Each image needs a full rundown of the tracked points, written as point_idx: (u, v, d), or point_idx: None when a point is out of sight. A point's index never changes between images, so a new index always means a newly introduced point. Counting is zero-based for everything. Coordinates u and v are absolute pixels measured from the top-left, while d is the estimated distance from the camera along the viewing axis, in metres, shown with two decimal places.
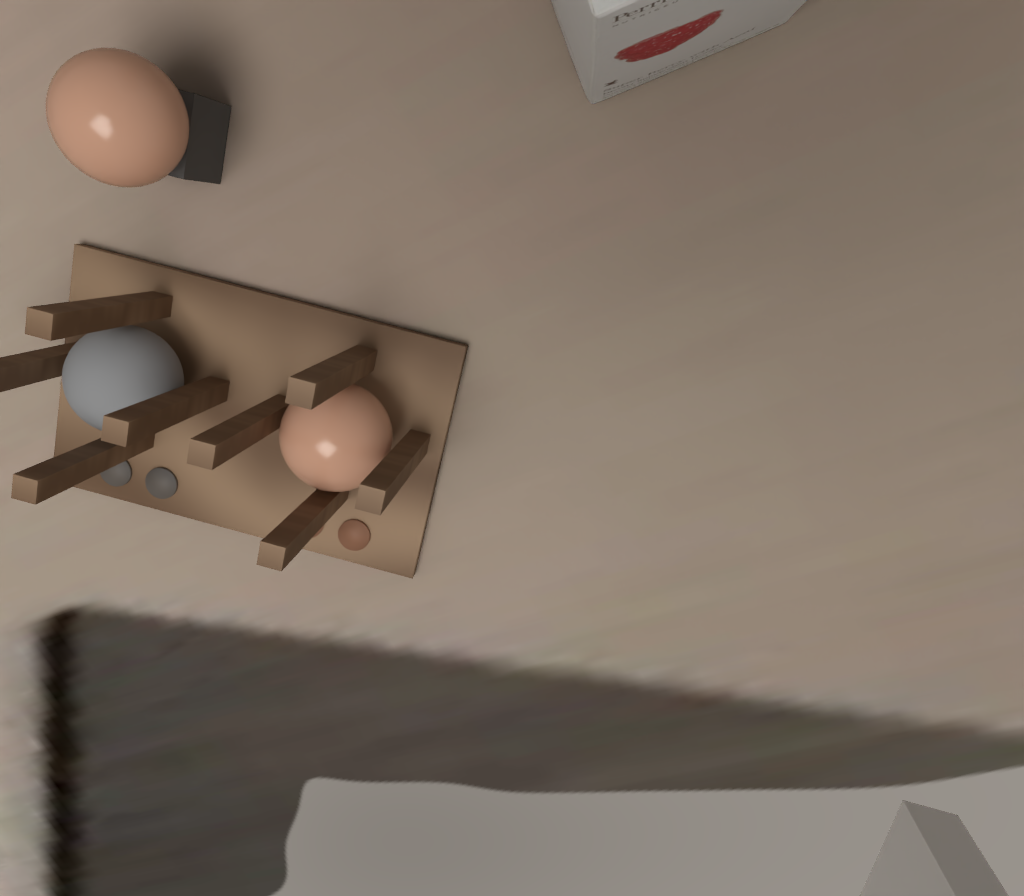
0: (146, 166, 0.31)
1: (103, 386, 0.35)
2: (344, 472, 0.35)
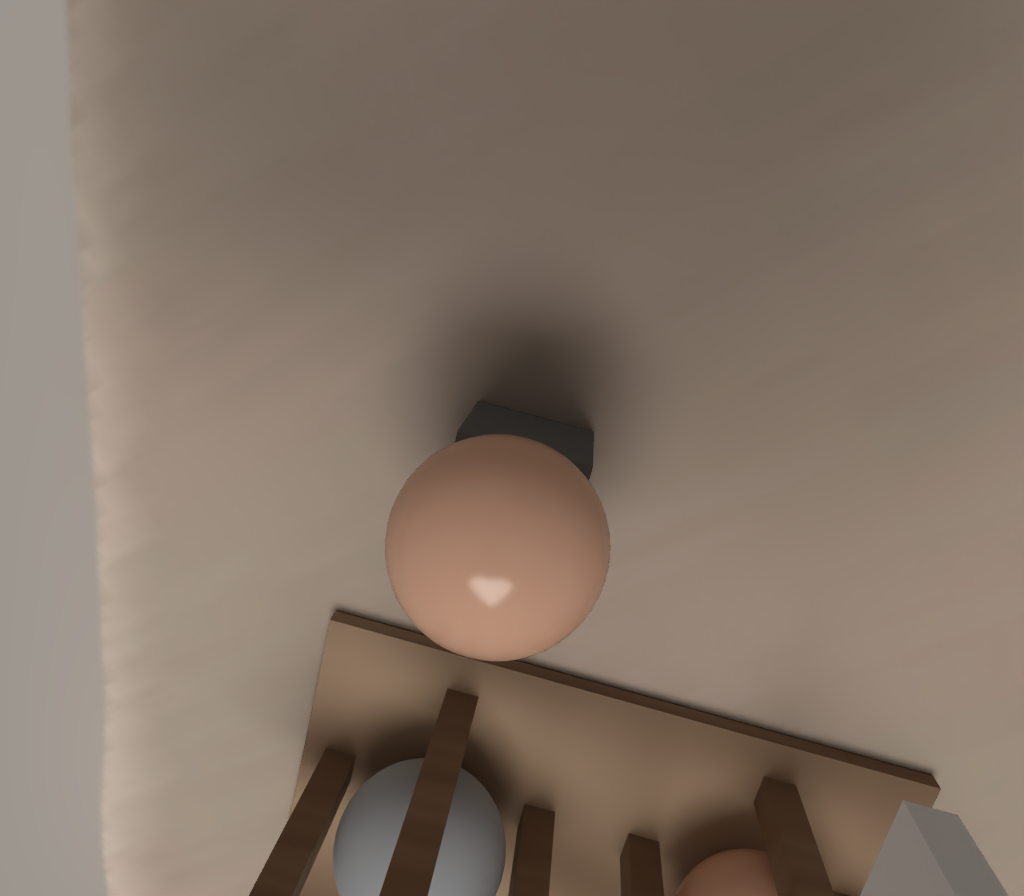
0: (557, 643, 0.18)
1: None
2: None
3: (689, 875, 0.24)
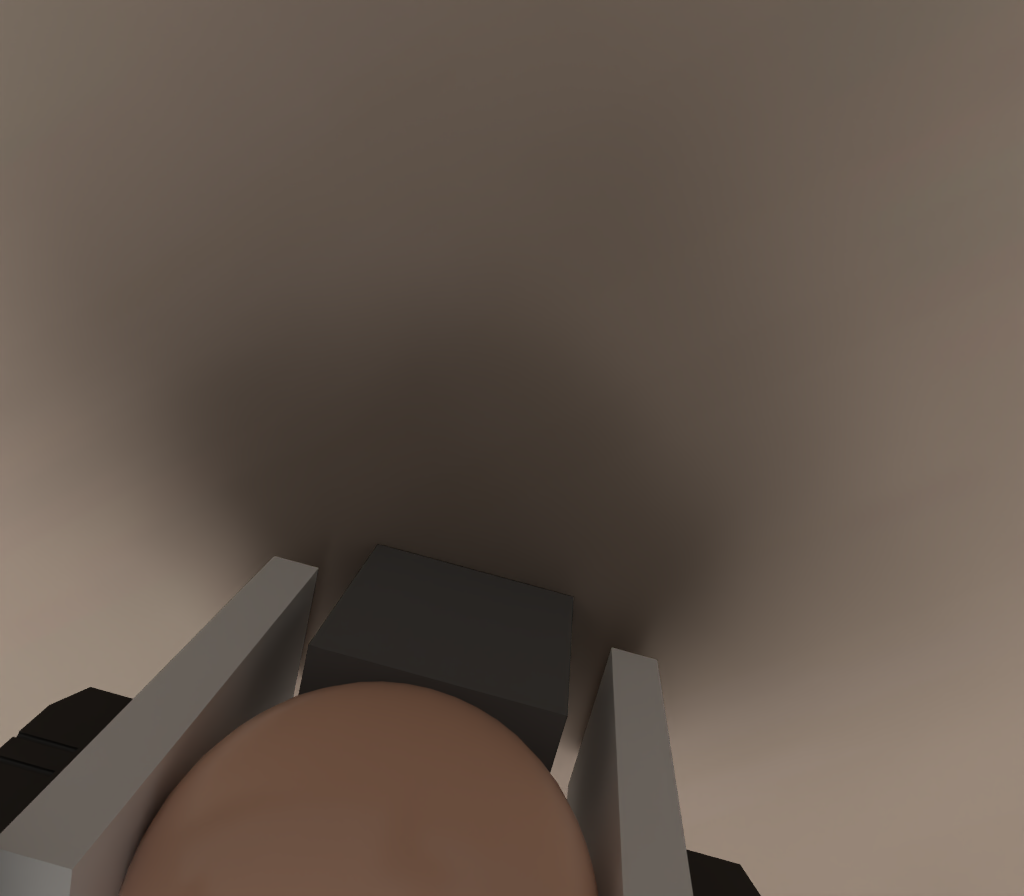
0: None
1: None
2: None
3: None
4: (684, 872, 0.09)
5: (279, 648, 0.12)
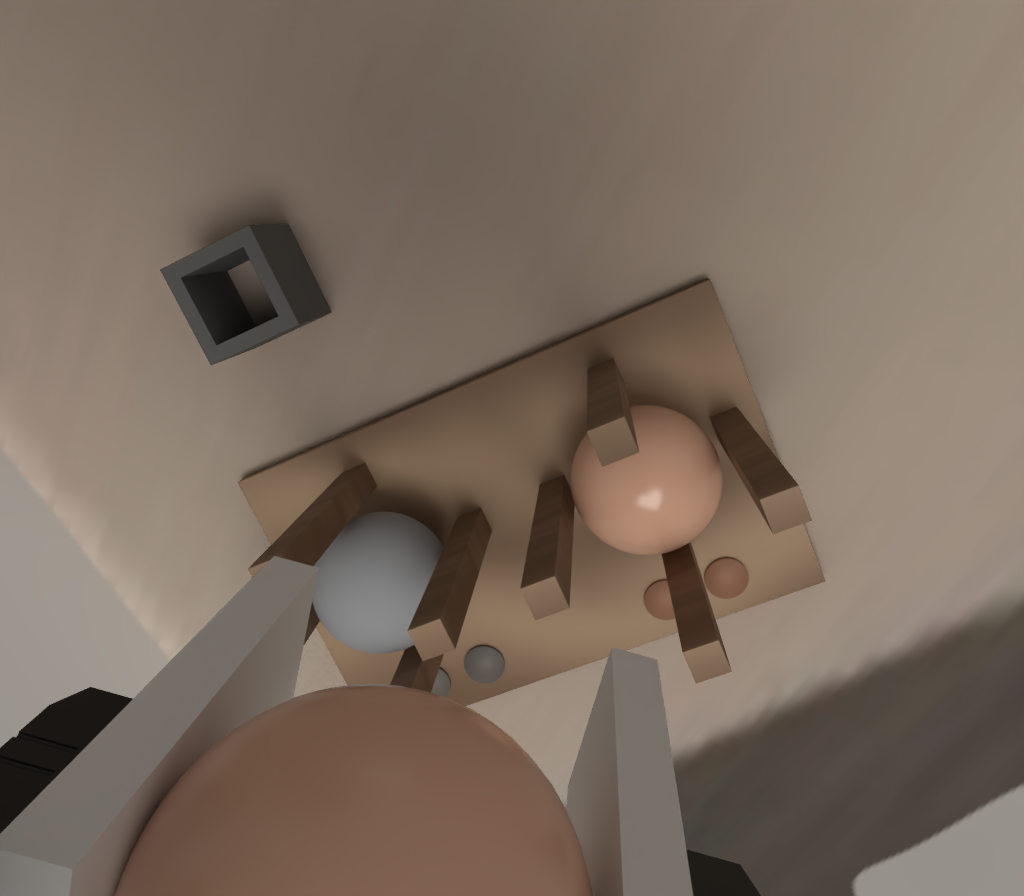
0: None
1: (372, 602, 0.27)
2: (694, 510, 0.25)
3: None
4: (683, 872, 0.09)
5: (279, 648, 0.12)
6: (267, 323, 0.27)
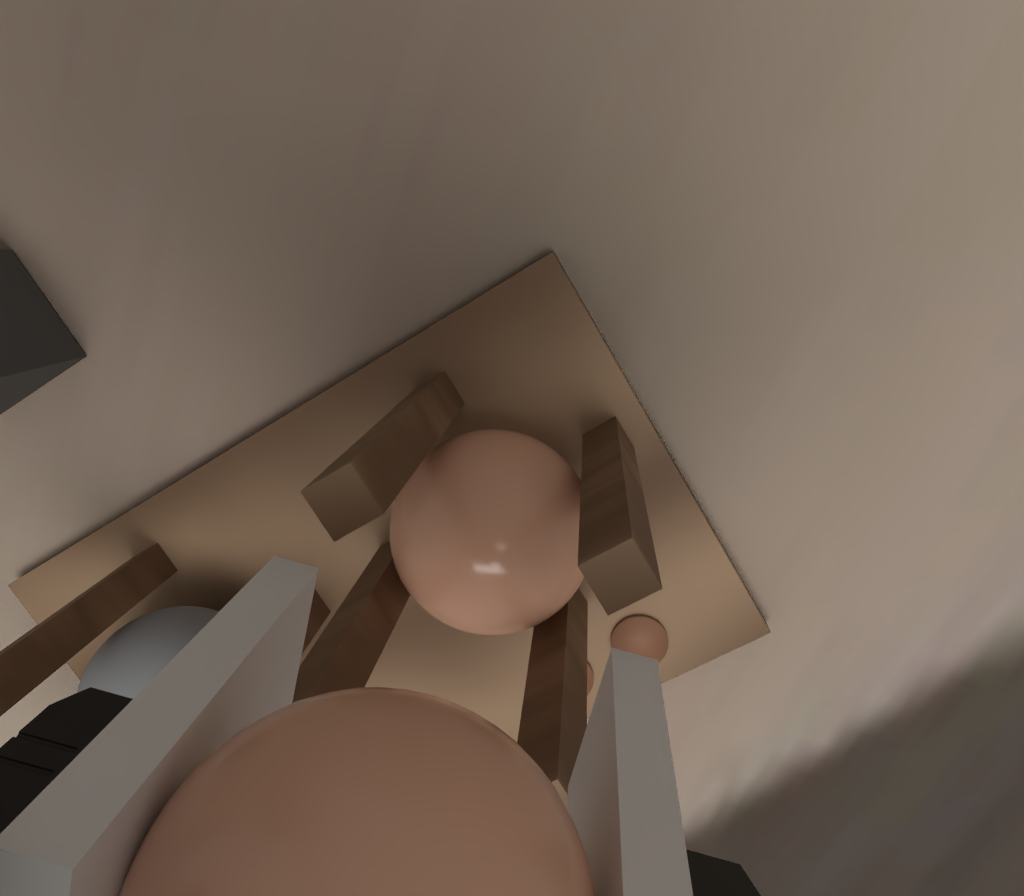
0: None
1: None
2: (544, 571, 0.18)
3: None
4: (684, 872, 0.09)
5: (279, 648, 0.12)
6: None
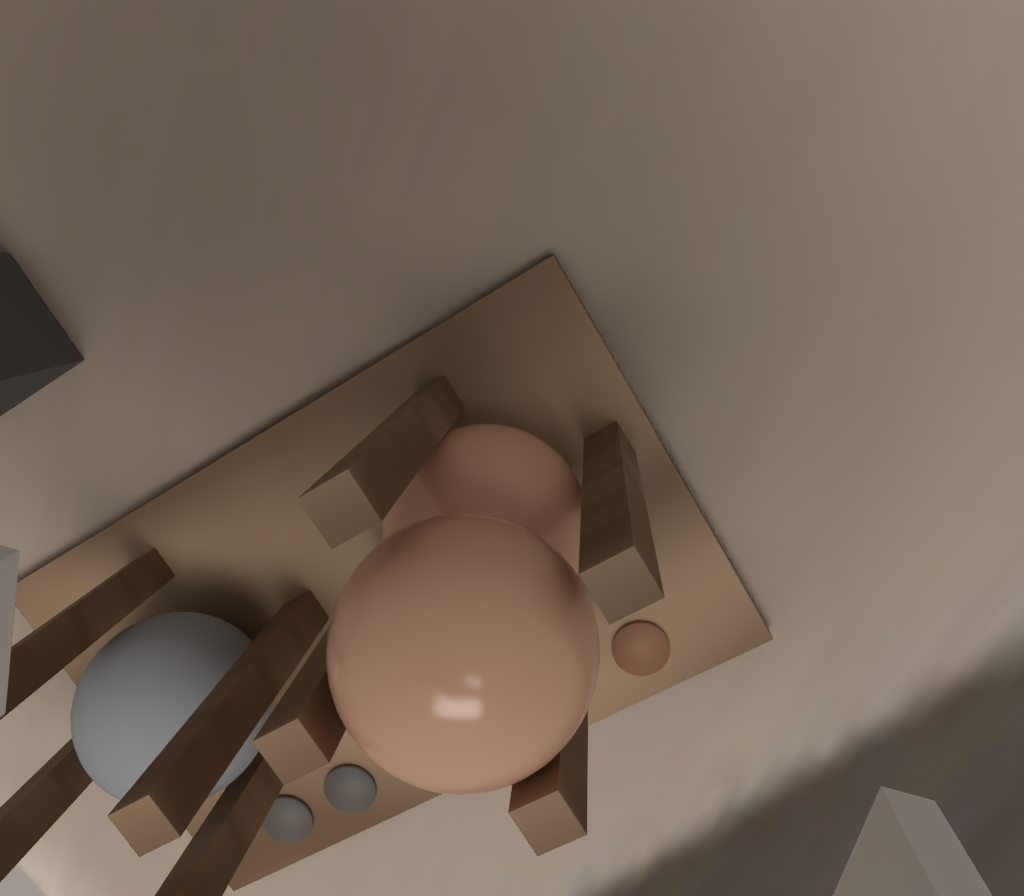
0: None
1: (133, 747, 0.19)
2: None
3: None
4: None
5: None
6: None
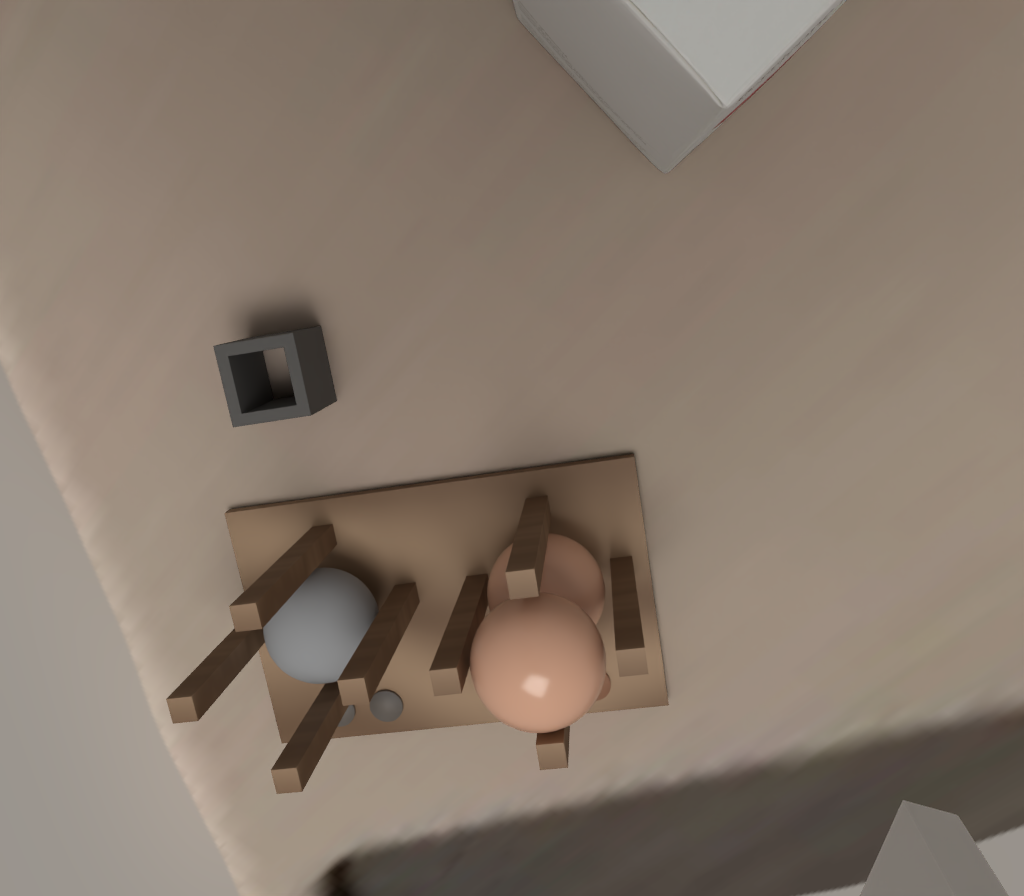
0: None
1: (312, 643, 0.33)
2: None
3: None
4: None
5: None
6: (286, 408, 0.33)
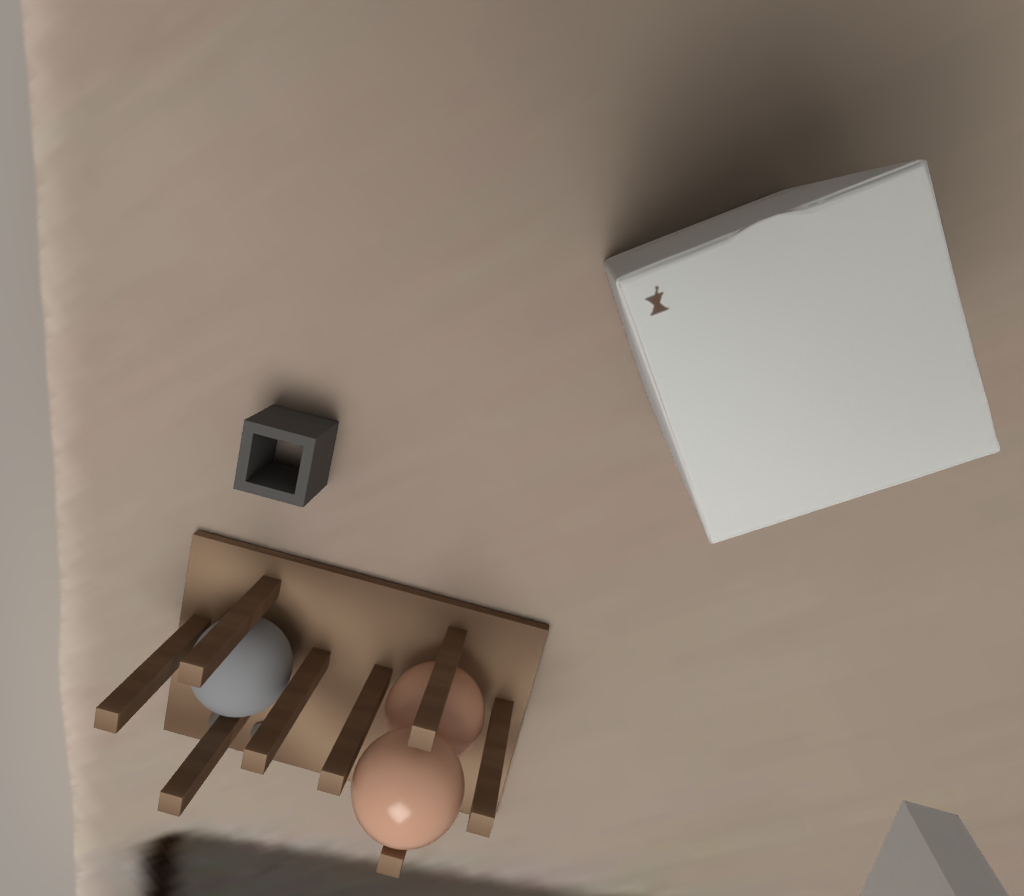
0: None
1: (229, 688, 0.39)
2: None
3: None
4: None
5: None
6: (285, 493, 0.38)
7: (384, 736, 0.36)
